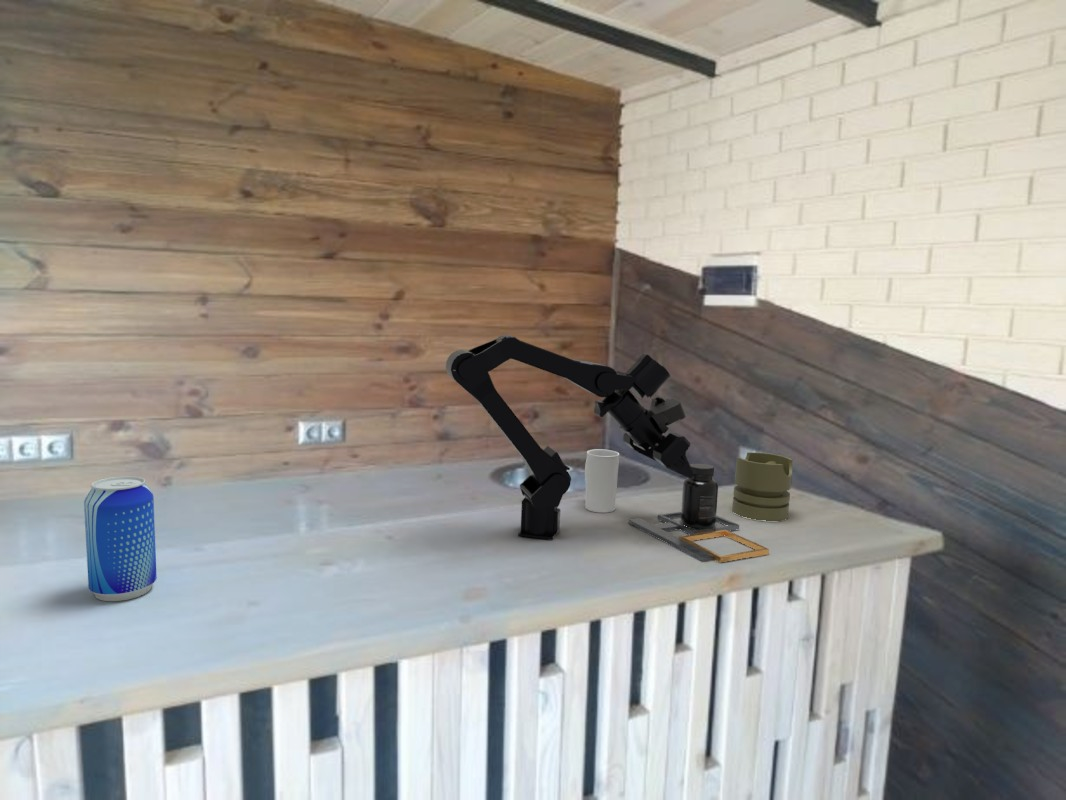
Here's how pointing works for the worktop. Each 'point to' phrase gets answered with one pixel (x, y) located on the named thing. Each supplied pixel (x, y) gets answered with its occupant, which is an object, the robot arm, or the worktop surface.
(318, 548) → the worktop surface
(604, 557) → the worktop surface
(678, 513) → the silver gold metal frame
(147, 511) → the beer can
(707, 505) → the supplement bottle
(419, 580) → the worktop surface
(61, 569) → the worktop surface
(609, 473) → the mug
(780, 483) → the piston
